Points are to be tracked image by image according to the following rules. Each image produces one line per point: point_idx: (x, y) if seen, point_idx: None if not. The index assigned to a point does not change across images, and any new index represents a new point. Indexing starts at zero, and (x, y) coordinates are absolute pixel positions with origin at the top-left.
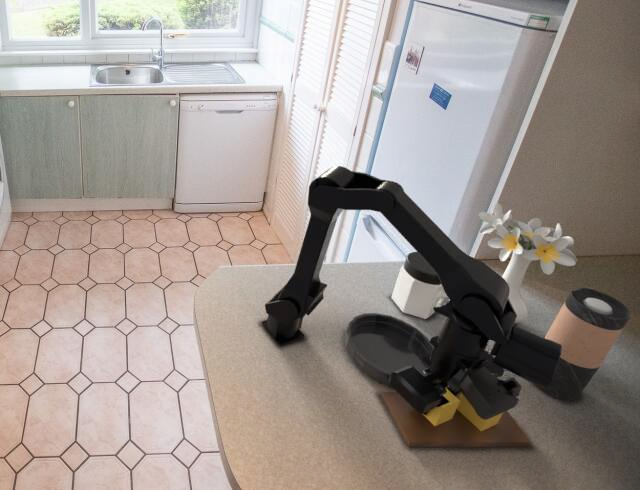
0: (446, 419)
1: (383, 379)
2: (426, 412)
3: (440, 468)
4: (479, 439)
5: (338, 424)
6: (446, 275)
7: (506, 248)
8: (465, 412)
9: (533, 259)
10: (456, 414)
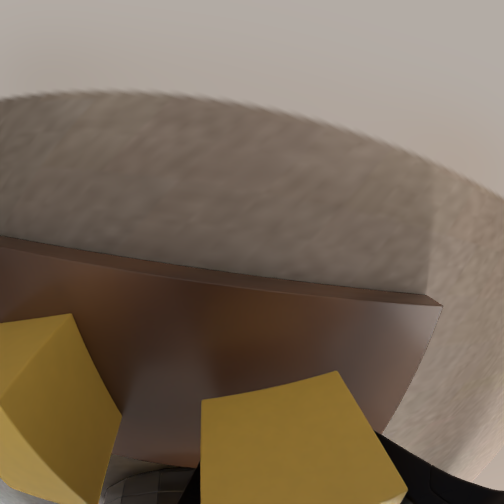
0: (259, 403)
1: None
2: (379, 434)
3: (384, 196)
4: (105, 280)
5: (498, 356)
6: None
7: None
8: (99, 402)
9: None
10: (136, 397)
